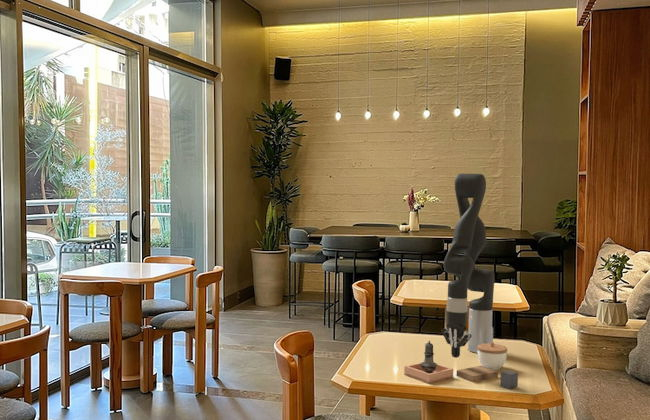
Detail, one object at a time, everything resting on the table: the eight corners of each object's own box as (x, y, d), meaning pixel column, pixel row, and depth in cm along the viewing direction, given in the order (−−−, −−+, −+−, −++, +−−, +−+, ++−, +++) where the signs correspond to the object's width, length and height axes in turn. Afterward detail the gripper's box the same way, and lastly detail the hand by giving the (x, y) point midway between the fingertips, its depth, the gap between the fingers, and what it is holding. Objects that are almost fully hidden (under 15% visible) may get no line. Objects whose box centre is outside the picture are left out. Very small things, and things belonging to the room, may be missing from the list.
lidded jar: (501, 373, 228) (502, 348, 227) (472, 368, 234) (473, 343, 233) (510, 366, 237) (510, 341, 236) (482, 361, 243) (482, 337, 242)
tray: (428, 368, 232) (428, 360, 232) (453, 377, 223) (453, 368, 222) (404, 374, 225) (404, 366, 225) (429, 383, 215) (429, 374, 215)
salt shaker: (425, 377, 220) (425, 343, 220) (417, 372, 226) (417, 339, 225) (440, 375, 222) (440, 341, 221) (432, 370, 228) (432, 337, 227)
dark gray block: (507, 384, 216) (508, 369, 216) (517, 387, 213) (518, 372, 213) (500, 386, 214) (500, 371, 214) (510, 389, 211) (510, 374, 210)
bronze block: (481, 372, 231) (481, 365, 231) (497, 378, 224) (497, 371, 224) (456, 377, 224) (456, 370, 224) (472, 383, 218) (473, 376, 218)
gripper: (478, 311, 228) (476, 359, 229) (450, 305, 239) (448, 351, 239) (464, 313, 223) (462, 362, 224) (436, 307, 234) (434, 354, 235)
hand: (455, 356), depth 232 cm, fingers closed
